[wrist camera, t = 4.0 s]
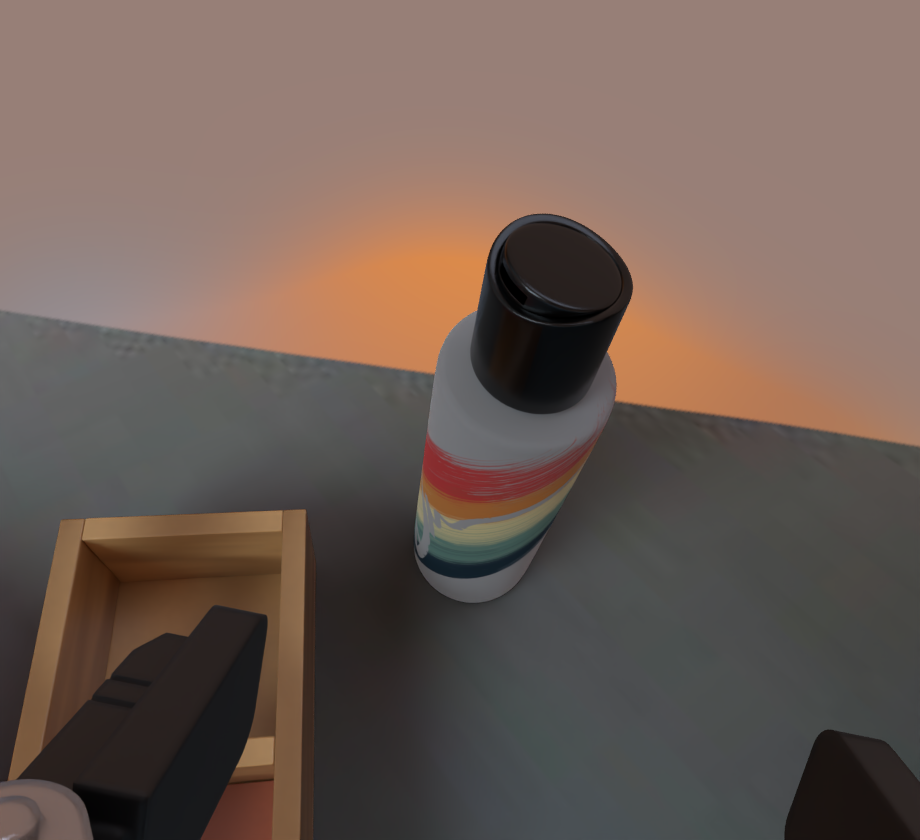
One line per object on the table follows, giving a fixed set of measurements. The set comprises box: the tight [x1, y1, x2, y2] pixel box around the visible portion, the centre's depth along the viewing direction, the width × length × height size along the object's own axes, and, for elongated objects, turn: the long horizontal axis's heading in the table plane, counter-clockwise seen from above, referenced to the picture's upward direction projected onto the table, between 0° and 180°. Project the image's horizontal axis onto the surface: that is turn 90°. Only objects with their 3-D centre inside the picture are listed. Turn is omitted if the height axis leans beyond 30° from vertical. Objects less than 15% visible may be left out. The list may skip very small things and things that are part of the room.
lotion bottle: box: [414, 214, 633, 603], centre depth 26 cm, size 6×6×20 cm
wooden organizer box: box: [8, 509, 316, 840], centre depth 26 cm, size 9×18×6 cm, turn 5°
